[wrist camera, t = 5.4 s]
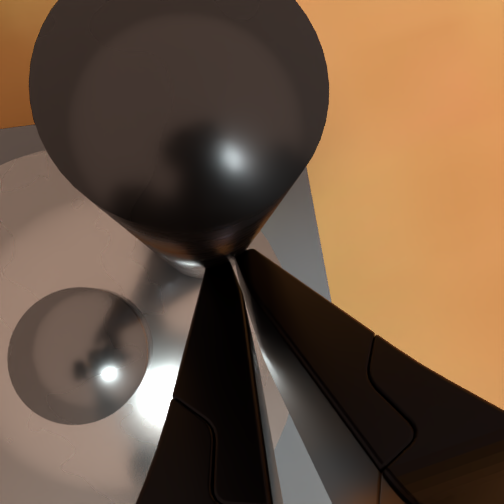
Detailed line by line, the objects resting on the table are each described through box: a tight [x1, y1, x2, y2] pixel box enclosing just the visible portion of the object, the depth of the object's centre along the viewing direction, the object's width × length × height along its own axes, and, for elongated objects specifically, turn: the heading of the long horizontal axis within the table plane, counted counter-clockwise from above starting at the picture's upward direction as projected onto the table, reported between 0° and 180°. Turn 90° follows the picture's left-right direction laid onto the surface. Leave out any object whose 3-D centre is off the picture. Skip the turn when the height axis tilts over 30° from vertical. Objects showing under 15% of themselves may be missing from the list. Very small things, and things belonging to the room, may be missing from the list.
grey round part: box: [0, 0, 329, 504], centre depth 9 cm, size 11×13×10 cm
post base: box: [0, 125, 332, 504], centre depth 13 cm, size 14×14×6 cm
